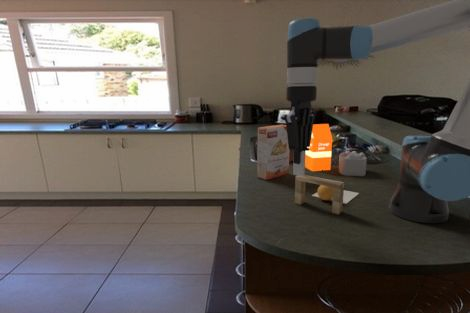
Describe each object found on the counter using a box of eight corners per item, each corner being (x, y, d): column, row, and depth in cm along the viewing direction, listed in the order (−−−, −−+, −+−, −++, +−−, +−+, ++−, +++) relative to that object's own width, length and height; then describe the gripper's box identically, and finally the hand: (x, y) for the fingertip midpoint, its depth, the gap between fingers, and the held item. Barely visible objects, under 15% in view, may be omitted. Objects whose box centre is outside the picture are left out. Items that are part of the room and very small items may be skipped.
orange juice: (330, 169, 139) (333, 124, 135) (312, 171, 138) (314, 125, 133) (322, 165, 147) (324, 122, 142) (304, 166, 145) (306, 123, 140)
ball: (330, 202, 100) (336, 200, 105) (331, 185, 100) (337, 184, 104) (314, 199, 104) (320, 197, 108) (315, 183, 103) (321, 181, 108)
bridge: (299, 200, 104) (300, 174, 102) (342, 211, 95) (344, 182, 93) (294, 203, 102) (295, 176, 100) (338, 214, 93) (340, 184, 91)
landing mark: (359, 193, 110) (359, 193, 110) (346, 204, 101) (346, 203, 101) (326, 187, 117) (326, 186, 117) (311, 196, 108) (311, 195, 108)
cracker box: (267, 181, 125) (267, 128, 120) (256, 177, 130) (256, 127, 125) (289, 174, 134) (291, 125, 129) (279, 171, 139) (279, 123, 134)
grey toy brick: (341, 175, 131) (342, 155, 129) (336, 167, 144) (337, 148, 142) (367, 176, 129) (369, 155, 127) (360, 168, 142) (361, 149, 140)
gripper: (300, 84, 87) (298, 167, 93) (275, 85, 78) (274, 177, 83) (326, 84, 83) (322, 171, 88) (302, 85, 73) (299, 183, 78)
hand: (298, 174), depth 85 cm, fingers closed
